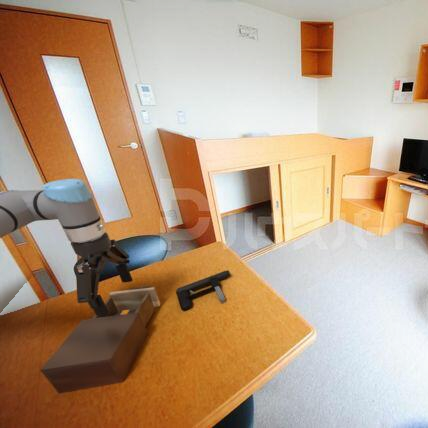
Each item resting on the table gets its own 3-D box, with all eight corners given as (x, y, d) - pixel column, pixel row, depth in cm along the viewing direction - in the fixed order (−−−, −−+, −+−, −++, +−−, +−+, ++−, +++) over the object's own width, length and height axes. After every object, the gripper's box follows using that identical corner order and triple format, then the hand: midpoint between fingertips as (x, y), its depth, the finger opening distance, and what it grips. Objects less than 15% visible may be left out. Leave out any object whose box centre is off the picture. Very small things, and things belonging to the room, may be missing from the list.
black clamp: (240, 290, 91) (226, 266, 102) (182, 315, 80) (173, 286, 91) (241, 296, 92) (227, 272, 103) (184, 322, 81) (175, 292, 92)
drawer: (124, 300, 87) (117, 283, 84) (164, 295, 90) (159, 279, 86) (93, 343, 72) (83, 325, 68) (143, 336, 74) (135, 318, 71)
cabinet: (95, 341, 73) (82, 319, 69) (148, 334, 76) (138, 312, 72) (58, 393, 60) (39, 369, 56) (123, 382, 63) (110, 358, 59)
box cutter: (115, 323, 77) (112, 317, 76) (120, 316, 79) (117, 311, 78) (143, 319, 78) (140, 314, 77) (147, 313, 81) (144, 307, 79)
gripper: (71, 263, 54) (105, 328, 63) (128, 216, 76) (147, 269, 85) (31, 266, 52) (72, 333, 61) (101, 217, 74) (124, 271, 83)
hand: (116, 296), depth 73 cm, fingers open, 13 cm apart
